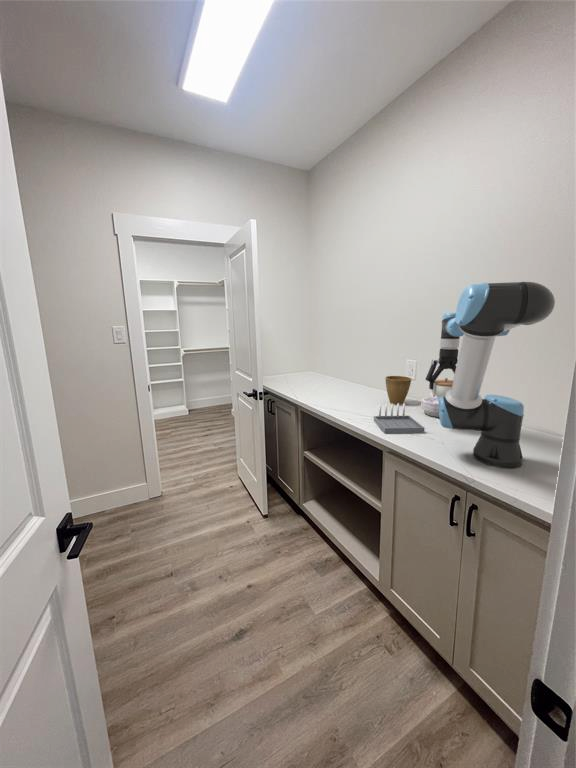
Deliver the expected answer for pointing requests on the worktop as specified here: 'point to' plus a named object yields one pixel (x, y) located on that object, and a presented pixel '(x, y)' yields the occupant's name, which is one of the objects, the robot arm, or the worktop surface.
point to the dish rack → (397, 422)
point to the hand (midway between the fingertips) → (444, 396)
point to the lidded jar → (442, 387)
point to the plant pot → (397, 388)
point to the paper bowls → (430, 406)
